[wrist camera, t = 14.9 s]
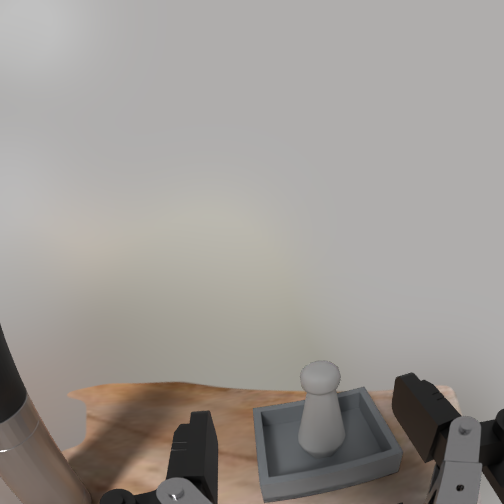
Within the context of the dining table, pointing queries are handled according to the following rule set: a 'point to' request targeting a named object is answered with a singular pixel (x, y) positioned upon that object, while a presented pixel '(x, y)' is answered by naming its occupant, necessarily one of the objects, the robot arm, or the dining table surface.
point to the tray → (330, 468)
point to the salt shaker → (321, 410)
